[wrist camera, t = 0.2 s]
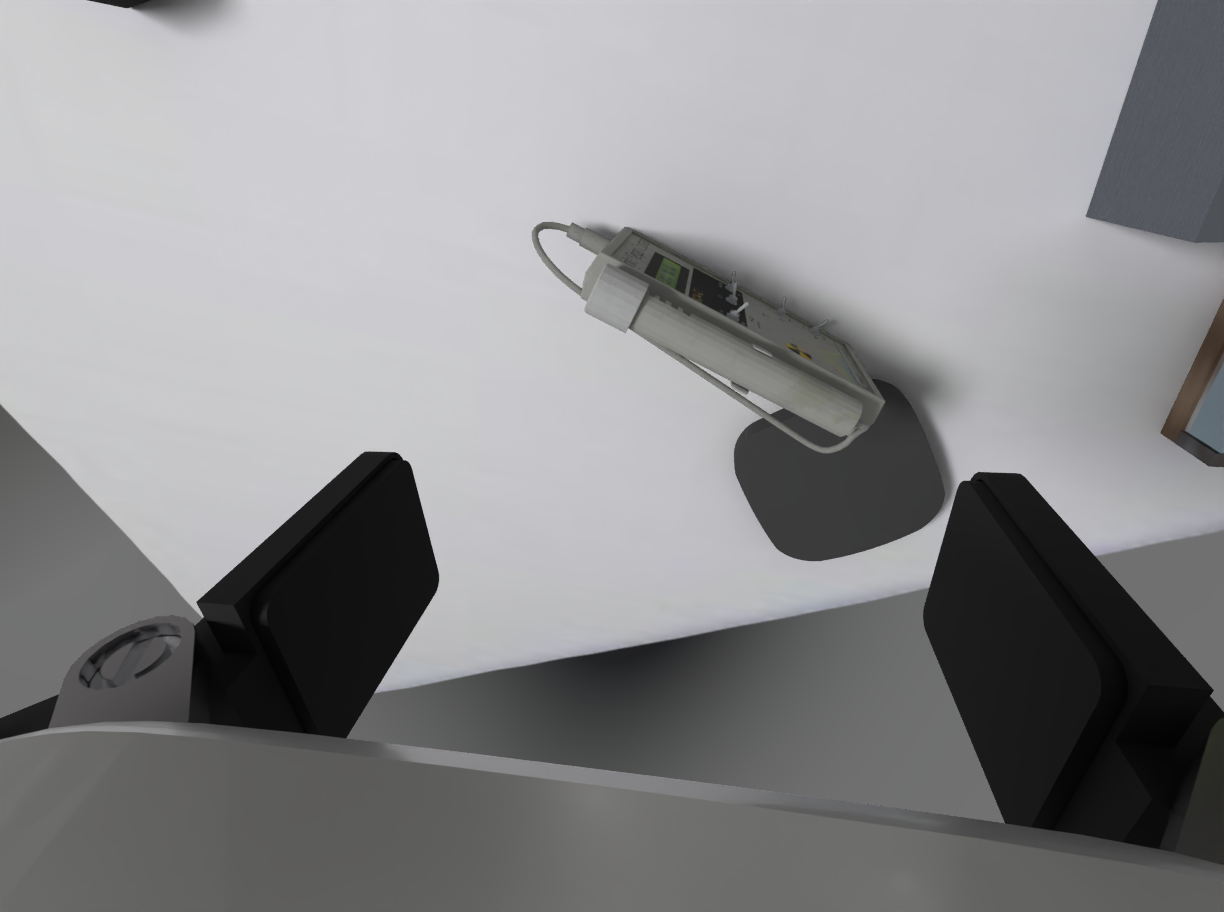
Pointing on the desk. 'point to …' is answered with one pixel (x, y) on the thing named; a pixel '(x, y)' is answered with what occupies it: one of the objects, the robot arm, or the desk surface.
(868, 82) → the desk surface
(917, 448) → the media streaming box
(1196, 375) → the rail
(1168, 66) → the cabinet
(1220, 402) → the carriage
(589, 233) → the geiger counter
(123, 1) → the battery
